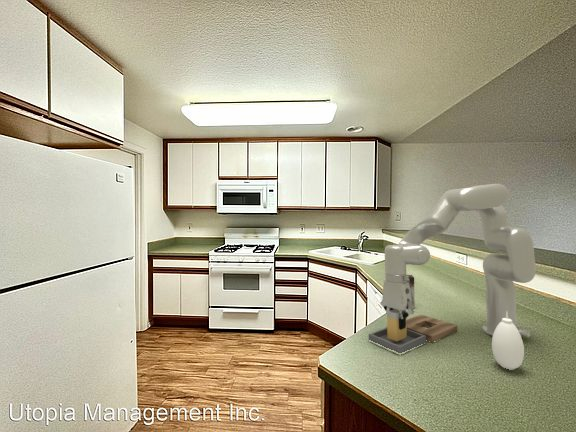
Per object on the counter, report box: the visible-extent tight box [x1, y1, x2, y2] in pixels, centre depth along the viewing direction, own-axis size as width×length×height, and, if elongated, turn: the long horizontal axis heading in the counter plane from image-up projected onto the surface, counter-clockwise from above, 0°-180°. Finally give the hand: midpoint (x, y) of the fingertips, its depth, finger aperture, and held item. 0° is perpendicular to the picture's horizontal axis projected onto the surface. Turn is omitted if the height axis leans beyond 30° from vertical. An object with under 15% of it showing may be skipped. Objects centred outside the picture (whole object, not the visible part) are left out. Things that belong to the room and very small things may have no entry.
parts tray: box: [368, 326, 427, 353], centre depth 109 cm, size 14×16×3 cm
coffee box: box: [406, 274, 415, 310], centre depth 150 cm, size 9×6×16 cm
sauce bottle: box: [491, 311, 525, 371], centre depth 90 cm, size 8×8×18 cm
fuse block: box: [386, 309, 407, 342], centre depth 109 cm, size 4×6×10 cm, turn 123°
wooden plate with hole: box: [406, 314, 458, 343], centre depth 119 cm, size 16×18×2 cm
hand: (396, 326), depth 109 cm, fingers closed on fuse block, 4 cm apart
